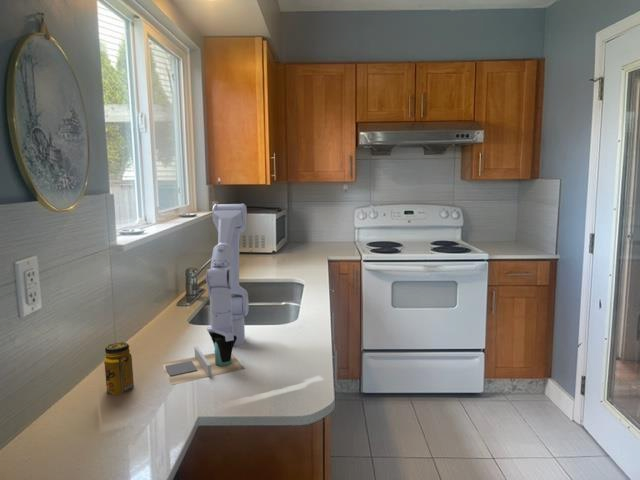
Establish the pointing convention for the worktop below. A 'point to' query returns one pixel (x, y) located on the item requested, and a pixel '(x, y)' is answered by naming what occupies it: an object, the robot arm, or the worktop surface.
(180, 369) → the pad
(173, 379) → the board
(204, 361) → the fence
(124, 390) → the condiment
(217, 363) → the peg
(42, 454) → the worktop surface
